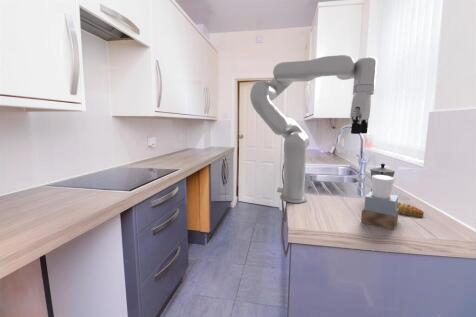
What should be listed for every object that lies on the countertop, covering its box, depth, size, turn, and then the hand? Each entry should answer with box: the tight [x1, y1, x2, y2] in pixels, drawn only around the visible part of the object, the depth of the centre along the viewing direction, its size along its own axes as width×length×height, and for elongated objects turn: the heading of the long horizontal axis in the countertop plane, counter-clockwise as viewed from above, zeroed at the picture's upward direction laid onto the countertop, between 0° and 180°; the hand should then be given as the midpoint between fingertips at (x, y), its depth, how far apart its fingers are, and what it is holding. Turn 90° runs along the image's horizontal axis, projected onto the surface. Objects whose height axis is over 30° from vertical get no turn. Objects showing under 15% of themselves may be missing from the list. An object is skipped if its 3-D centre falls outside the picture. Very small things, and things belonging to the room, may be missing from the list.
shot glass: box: [371, 175, 395, 199], centre depth 85 cm, size 7×7×7 cm
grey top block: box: [363, 190, 399, 216], centre depth 86 cm, size 9×9×5 cm
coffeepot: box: [370, 163, 396, 191], centre depth 109 cm, size 15×9×18 cm, turn 148°
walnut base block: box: [360, 207, 399, 231], centre depth 87 cm, size 10×10×5 cm
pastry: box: [397, 201, 425, 218], centre depth 95 cm, size 9×7×4 cm
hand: (359, 133), depth 98 cm, fingers open, 9 cm apart
